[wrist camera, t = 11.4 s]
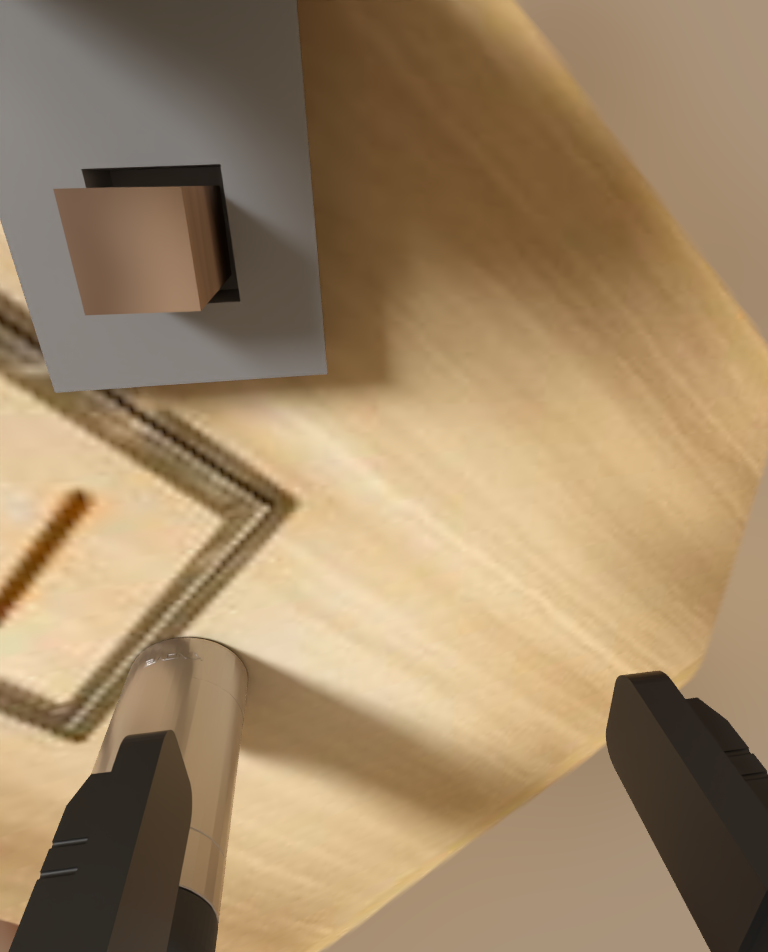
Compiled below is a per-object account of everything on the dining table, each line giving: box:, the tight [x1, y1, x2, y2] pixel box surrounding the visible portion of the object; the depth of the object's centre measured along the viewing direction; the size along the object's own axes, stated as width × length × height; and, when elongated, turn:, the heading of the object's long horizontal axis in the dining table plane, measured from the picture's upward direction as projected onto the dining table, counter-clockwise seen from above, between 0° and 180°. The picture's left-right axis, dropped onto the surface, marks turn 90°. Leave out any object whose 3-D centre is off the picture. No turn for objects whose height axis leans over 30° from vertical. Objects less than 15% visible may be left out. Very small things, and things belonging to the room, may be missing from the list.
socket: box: [0, 0, 327, 393], centre depth 28 cm, size 18×14×5 cm
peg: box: [53, 185, 231, 315], centre depth 26 cm, size 4×4×10 cm
